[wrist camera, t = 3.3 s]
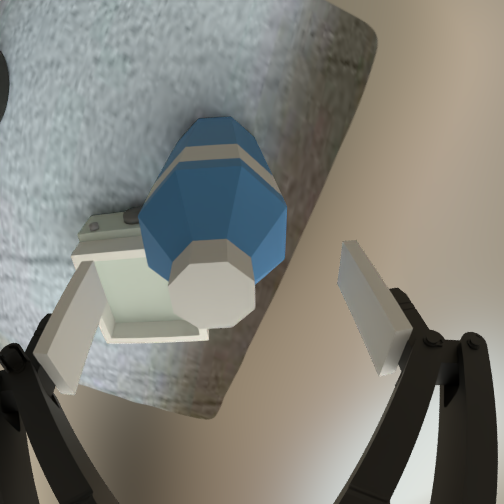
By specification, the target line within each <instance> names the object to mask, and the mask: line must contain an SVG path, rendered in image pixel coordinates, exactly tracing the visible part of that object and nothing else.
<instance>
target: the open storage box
mask: <svg viewBox="0 0 504 504" xmlns="http://www.w3.org/2000/svg"><path fill="white" fill-rule="evenodd" d="M141 209H142V207H136V208H132V209H129V210H127V211H125V212H117V213H109V214H101V215H94V216H91V217H90V218H89V219H88V221H87V222H86V223H85V225H84V226H83V228H82V229H81V230H80V232H79V233H78V234H77V235H78V238H79V241H80V242H79V244H78V245H77V247H76V248H75V250H74V251H73V253H72V255H71V258H72V261H73V264H74V266H75V269H76V270H77V268H78V266H79V265H80V263H81V261H94V264H95V267H96V270H97V273H98V276H99V278H100V281H101V284H102V287H103V290H104V292H105V295H106V298H107V303H106V306H105V309H104V311H103V314H102V316H101V319H100V322H99V324H98V325H99V327H100V329H101V332H102V334H103V336H104V338H105V340H106V342H107V344H121V343H163V342H185V341H203V340H209V329H210V328H209V329H199V328H197V327H196V326H194V325H192V324H191V323H189V322H187V321H186V320H184V319H182V318H181V317H179V316H177V315H176V314H174V313H173V308H172V304H171V299H170V295H169V290H168V283H169V282H168V281H167V280H166V279H164V278H163V277H161V276H160V275H159V274H157V273H156V272H155V271H153V270H152V269H150V268H149V267H148V263H147V259H146V254H145V249H144V245H143V240H142V235H141V230H140V224H139V219H138V215H139V213H140V211H141Z"/></svg>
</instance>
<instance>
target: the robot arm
mask: <svg viewBox="0 0 504 504" xmlns="http://www.w3.org/2000/svg"><path fill="white" fill-rule="evenodd" d="M8 93H9V75H8V68H7V64H6V61H5V59H4V56H3V54H2V53H1V51H0V122H1V119H2V117H3V115H4V112H5V108H6V105H7V100H8ZM337 284H338V286H339V288H340V290H341V293H342V295H343V297H344V299H345V301H346V303H347V305H348V308H349V310H350V312H351V314H352V316H353V318H354V320H355V323H356V325H357V327H358V329H359V332H360V334H361V336H362V339H363V341H364V343H365V345H366V348H367V350H368V352H369V355H370V357H371V359H372V362H373V364H374V366H375V369H376V371H377V373H378V376H384V375H388V374H393V373H395V371H396V368H397V366H398V365H399V367H400V369H401V371H402V372H401V374H400V376H399V378H398V381H397V383H396V385H395V388H394V391H393V393H392V395H391V398H390V400H389V402H388V404H387V407H386V409H385V411H384V413H383V415H382V417H381V420H380V422H379V424H378V426H377V428H376V430H375V432H374V434H373V436H372V438H371V440H370V442H369V443H368V446H367V447H366V449H365V451H364V453H363V455H362V457H361V458H360V460H359V462H358V464H357V466H356V467H355V469H354V471H353V473H352V474H351V476H350V478H349V479H348V481H347V483H346V484H345V486H344V488H343V489H342V491H341V492H340V494H339V496H338V497H337V499H336V500H335V502H334V503H333V504H390V499H391V496H392V494H393V492H394V490H395V488H396V486H397V484H398V482H399V480H400V478H401V476H402V473H403V471H404V469H405V467H406V464H407V462H408V460H409V457H410V455H411V453H412V450H413V447H414V445H415V443H416V440H417V438H418V435H419V432H420V430H421V427H422V424H423V421H424V418H425V415H426V413H427V410H428V407H429V403H430V400H431V397H432V394H433V391H434V387H435V385H440V409H439V412H440V413H439V432H438V445H437V456H436V466H435V474H434V482H433V489H432V495H431V501H430V504H496V495H497V474H498V473H497V472H498V471H497V470H498V445H497V444H498V442H497V423H496V422H497V421H496V408H495V398H494V388H493V381H492V373H491V367H490V360H489V354H488V349H487V344H486V341H485V340H484V338H483V337H482V336H480V335H479V334H477V333H474V332H467V333H465V334H464V335H463V336H462V338H461V340H445V339H444V337H443V336H442V335H441V334H440V333H438V332H436V331H434V330H429V328H428V327H427V325H426V324H425V322H424V321H423V319H422V318H421V316H420V314H419V313H418V311H417V310H416V309H415V307H414V305H413V304H412V303H411V301H410V299H409V298H408V296H407V295H406V294H405V293H404V292H403V291H401V290H400V289H399V288H392V289H388V287H387V286H386V284H385V283H384V281H383V279H382V278H381V276H380V275H379V273H378V272H377V270H376V269H375V267H374V266H373V264H372V263H371V261H370V260H369V258H368V257H367V255H366V254H365V252H364V251H363V249H362V248H361V247H360V245H359V243H358V242H357V241H356V240H351V241H343V243H342V252H341V260H340V267H339V275H338V282H337ZM106 303H107V298H106V295H105V292H104V290H103V287H102V284H101V281H100V278H99V276H98V273H97V270H96V267H95V264H94V261H81V263H80V265H79V266H78V268H77V270H76V271H75V273H74V275H73V277H72V278H71V280H70V282H69V284H68V285H67V287H66V289H65V291H64V292H63V294H62V296H61V298H60V300H59V302H58V303H57V305H56V307H55V309H54V311H53V313H52V314H47V315H46V316H45V317H44V318H43V319H42V320H41V321H40V323H39V325H38V327H37V330H36V331H35V333H34V336H33V337H32V339H31V341H30V343H29V345H28V347H27V349H26V351H25V352H24V351H23V349H22V347H21V346H20V345H19V344H17V343H11V344H9V345H7V346H5V347H4V348H3V349H2V350H1V352H0V364H1V365H2V366H3V368H4V369H5V370H1V371H0V504H39V500H38V496H37V491H36V487H35V483H34V478H33V473H32V468H31V462H30V456H29V450H28V444H27V436H26V432H27V435H28V438H29V440H30V443H31V445H32V447H33V450H34V452H35V455H36V457H37V459H38V461H39V464H40V466H41V468H42V470H43V472H44V475H45V477H46V479H47V481H48V483H49V485H50V487H51V489H52V491H53V493H54V494H55V496H56V498H57V500H58V502H59V504H119V502H118V501H117V500H116V498H115V497H114V495H113V494H112V493H111V491H110V490H109V489H108V487H107V485H106V484H105V482H104V481H103V479H102V478H101V477H100V475H99V473H98V472H97V470H96V469H95V467H94V465H93V464H92V462H91V460H90V459H89V457H88V456H87V454H86V452H85V450H84V449H83V447H82V445H81V444H80V442H79V440H78V438H77V436H76V435H75V433H74V431H73V429H72V427H71V426H70V423H69V422H68V420H67V418H66V416H65V414H64V412H63V410H62V408H61V406H60V403H59V401H58V399H57V397H56V396H55V394H54V393H53V392H54V389H55V386H56V387H57V388H58V390H59V391H60V393H61V394H68V395H75V393H76V390H77V386H78V383H79V380H80V377H81V374H82V371H83V367H84V364H85V361H86V358H87V355H88V352H89V350H90V347H91V344H92V341H93V338H94V335H95V333H96V330H97V327H98V324H99V322H100V319H101V316H102V314H103V311H104V309H105V306H106Z"/></svg>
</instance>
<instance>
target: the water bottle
mask: <svg viewBox="0 0 504 504" xmlns="http://www.w3.org/2000/svg"><path fill="white" fill-rule="evenodd" d="M286 218H287V206H286V203H285V201H284V199H283V197H282V195H281V193H280V190H279V188H278V186H277V184H276V182H275V180H274V177H273V175H272V173H271V171H270V169H269V167H268V165H267V163H266V161H265V158H264V156H263V154H262V152H261V150H260V148H259V146H258V144H257V142H256V140H255V138H254V137H253V136H252V135H251V134H250V133H249V132H248V131H247V130H246V129H245V128H243V127H242V126H241V125H240V124H239V123H238V122H237V121H236V120H234V119H233V118H232V117H214V118H199V119H198V120H197V121H196V122H195V123H194V124H193V125H192V126H191V128H190V129H189V130H188V131H187V132H186V133H185V134H184V135H183V137H182V138H181V139H180V140H179V141H178V142H177V144H176V146H175V148H174V149H173V151H172V153H171V155H170V156H169V158H168V160H167V162H166V163H165V165H164V167H163V169H162V171H161V172H160V174H159V176H158V178H157V180H156V182H155V184H154V185H153V187H152V189H151V191H150V193H149V195H148V197H147V199H146V201H145V203H144V205H143V207H142V209H141V211H140V213H139V215H138V219H139V224H140V230H141V235H142V240H143V245H144V249H145V254H146V259H147V263H148V267H149V268H150V269H152V270H153V271H155V272H156V273H157V274H159V275H160V276H161V277H163V278H164V279H166V280H167V281H168V282H169V283H168V290H169V295H170V299H171V304H172V308H173V313H174V314H176V315H177V316H179V317H181V318H182V319H184V320H186V321H187V322H189V323H191V324H192V325H194V326H196V327H197V328H199V329H209V328H227V327H233V326H234V325H236V324H237V323H238V322H239V321H241V320H242V319H243V318H244V317H246V316H247V315H248V314H249V313H250V312H252V311H253V310H254V309H255V284H256V283H258V282H259V281H260V280H261V279H262V278H263V277H265V276H266V275H267V274H268V273H269V272H270V271H271V270H273V269H274V268H275V267H276V266H277V265H278V264H279V263H281V262H282V261H283V260H284V259H285V242H286Z"/></svg>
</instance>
